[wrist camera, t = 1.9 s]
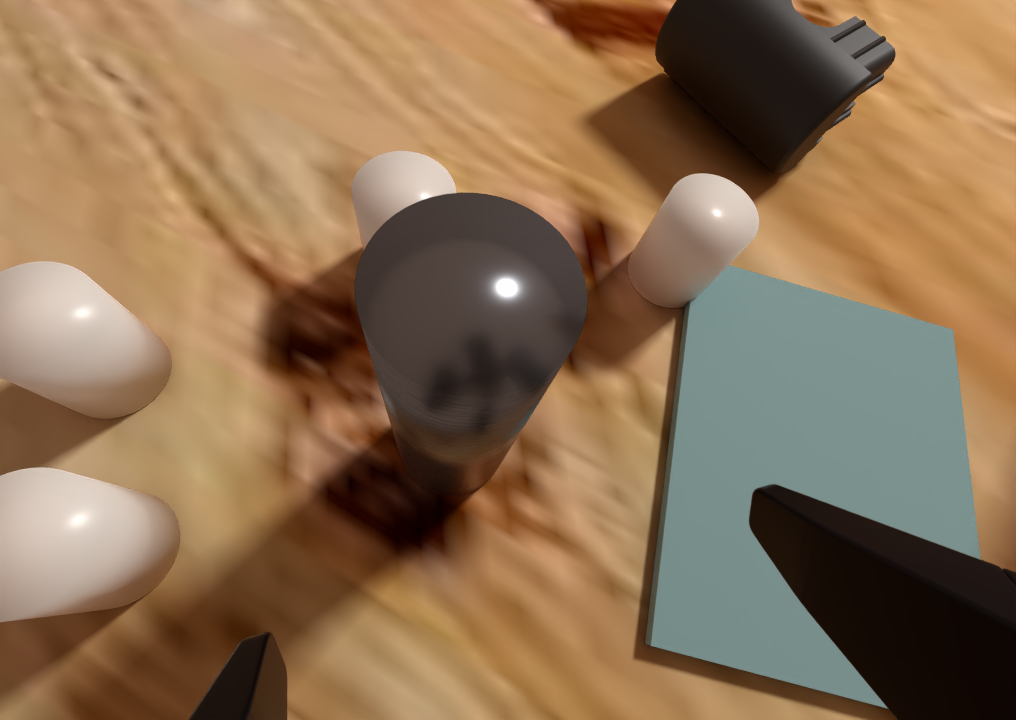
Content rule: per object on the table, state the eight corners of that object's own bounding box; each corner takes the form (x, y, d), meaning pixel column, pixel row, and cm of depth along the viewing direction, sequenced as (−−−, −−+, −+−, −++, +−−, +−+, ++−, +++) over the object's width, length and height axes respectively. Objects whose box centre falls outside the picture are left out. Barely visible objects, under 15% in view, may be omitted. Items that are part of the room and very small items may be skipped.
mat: (986, 734, 20) (1002, 738, 20) (644, 643, 20) (650, 645, 19) (942, 334, 27) (952, 329, 27) (690, 261, 27) (695, 255, 26)
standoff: (481, 512, 21) (544, 434, 9) (380, 471, 21) (309, 339, 9) (518, 415, 23) (613, 241, 11) (425, 377, 23) (416, 162, 11)
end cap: (634, 86, 31) (683, -32, 25) (710, 47, 34) (772, -70, 28) (752, 200, 29) (837, 100, 23) (824, 150, 32) (920, 47, 25)
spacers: (774, 432, 24) (855, 399, 19) (54, 624, 18) (-80, 644, 13) (664, 190, 29) (709, 117, 24) (64, 274, 22) (-33, 196, 18)
